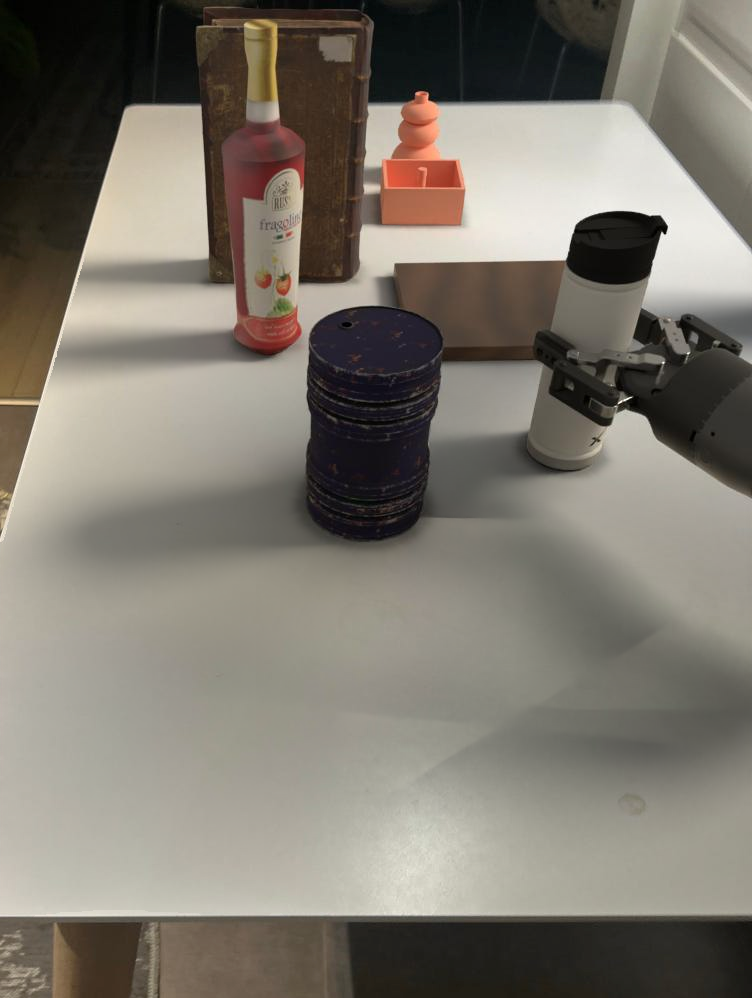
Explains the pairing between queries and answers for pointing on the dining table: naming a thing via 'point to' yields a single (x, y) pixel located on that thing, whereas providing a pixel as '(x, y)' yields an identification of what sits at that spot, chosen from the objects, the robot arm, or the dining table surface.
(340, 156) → the book
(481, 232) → the dining table surface
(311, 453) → the dark blue cylinder
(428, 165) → the pottery
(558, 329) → the travel mug
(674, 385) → the robot arm
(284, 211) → the liquor
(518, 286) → the walnut board
